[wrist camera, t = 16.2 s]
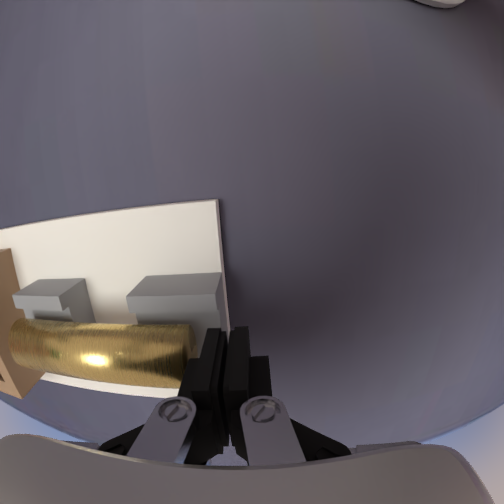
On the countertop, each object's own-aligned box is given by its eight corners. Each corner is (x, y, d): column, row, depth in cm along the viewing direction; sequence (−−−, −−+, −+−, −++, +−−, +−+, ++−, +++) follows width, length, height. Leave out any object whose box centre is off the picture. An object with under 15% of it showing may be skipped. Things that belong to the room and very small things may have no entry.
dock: (218, 198, 15) (201, 210, 10) (237, 387, 18) (233, 447, 13) (-48, 240, 15) (-85, 254, 10) (-13, 355, 18) (-41, 380, 13)
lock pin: (191, 313, 12) (177, 347, 10) (200, 363, 13) (191, 402, 10) (30, 309, 13) (1, 331, 10) (45, 351, 13) (21, 376, 11)
